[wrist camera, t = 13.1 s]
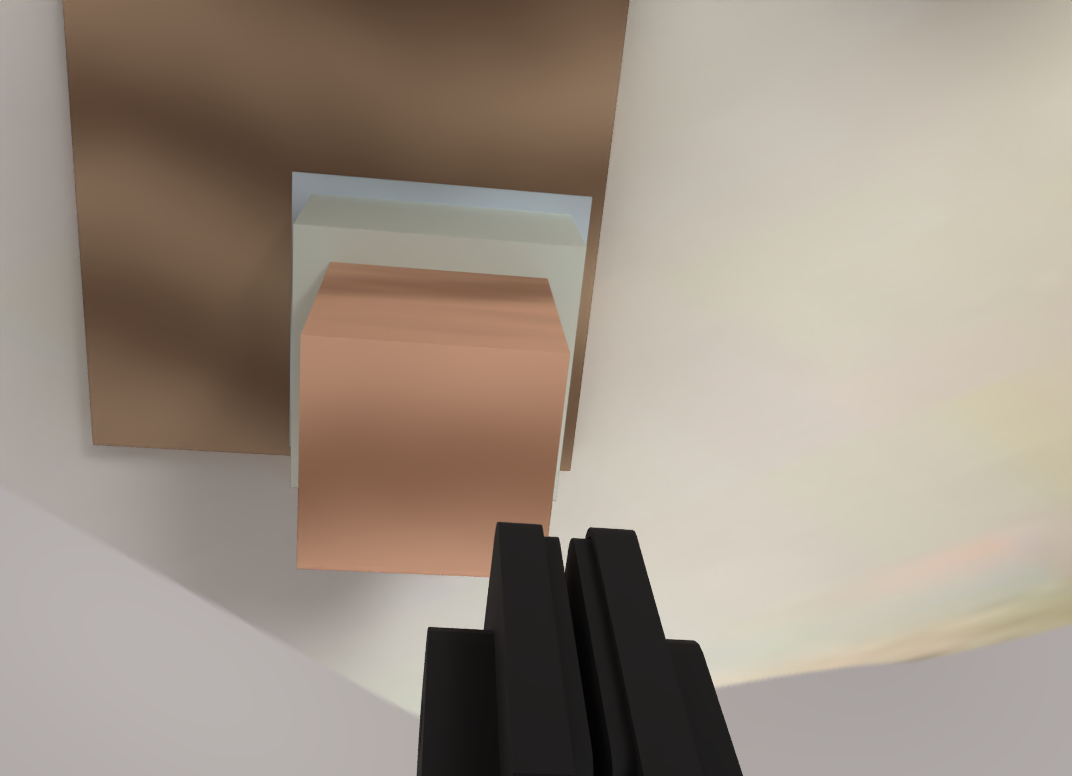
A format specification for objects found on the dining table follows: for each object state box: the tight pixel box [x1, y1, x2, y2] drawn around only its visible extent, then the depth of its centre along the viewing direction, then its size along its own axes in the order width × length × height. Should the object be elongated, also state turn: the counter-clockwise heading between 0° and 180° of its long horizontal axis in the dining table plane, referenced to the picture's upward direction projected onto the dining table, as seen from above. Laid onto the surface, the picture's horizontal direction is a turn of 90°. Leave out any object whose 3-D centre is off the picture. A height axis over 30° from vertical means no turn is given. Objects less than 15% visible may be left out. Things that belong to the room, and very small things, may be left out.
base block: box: [290, 193, 587, 501], centre depth 31 cm, size 8×8×4 cm
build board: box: [63, 0, 629, 471], centre depth 32 cm, size 20×16×1 cm
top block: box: [297, 262, 570, 577], centre depth 27 cm, size 6×6×6 cm
